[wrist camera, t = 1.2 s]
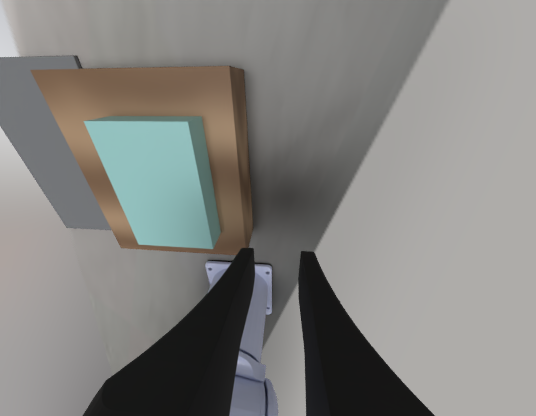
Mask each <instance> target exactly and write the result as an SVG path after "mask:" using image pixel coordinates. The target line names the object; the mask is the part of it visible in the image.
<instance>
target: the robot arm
mask: <svg viewBox="0 0 536 416" xmlns="http://www.w3.org/2000/svg"><path fill="white" fill-rule="evenodd" d="M205 266H206V270H207V274H208V279H209V283H210V288H209V290H208V293H207V294H206V296H205V297H204V298H203V299H202V300H201V301H200V302H199V303H198V304H197V305H196V306H195V307H194V308H193V309H192V310H191V311H190V312H189V313H188V314H187V315H186V316H185V317H184V318H183V319H182V320H181V321H180V322H179V323H178V324H177V325H176V326H175V327H173V328H172V329H171V330H170V331H169V332H168V333H167V334H165V335H164V336H163V337H162V338H161V339H159V340H158V341H157V342H156V343H155V344H153V345H152V346H151V347H150V348H149V349H147V350H146V351H145V352H144V353H142V354H141V355H140V356H139V357H137V358H136V359H134V360H133V361H132V362H130V363H129V364H128V365H126V366H125V367H124V368H122V369H121V370H120V371H118V372H117V373H116V374H114V375H113V376H112V377H110V378H109V379H107V380H106V381H105V383H104V384H103V386H102V387H101V389H100V390H99V391H98V393H97V394H96V395H95V397H94V398H93V400H92V402H91V403H90V405H89V406H88V408H87V410H86V411H85V413H84V415H83V416H278V403H277V396H276V393H275V390H274V388H273V385H272V383H271V381H270V380H269V379H267V378H265V369H266V365H264V364H261V354H262V344H263V335H264V326H265V317H266V314H267V315H269V314H271V313H272V267H271V266H270V265H263V264H255V263H254V248H241V249H240V251H239V252H238V254H237V255H236V257H235V258H234V260H233V261H232V262H217V261H207V262H206V264H205ZM267 271H268V272H267ZM298 281H299V304H300V312H301V313H300V314H301V321H302V331H303V340H304V352H305V380H306V416H434V414H433V413H432V412H431V411H430V410H429V409H428V408H427V407H426V406H425V405H424V404H423V403H422V402H421V401H420V400H419V399H418V398H417V397H416V396H415V395H414V394H413V393H412V392H411V391H410V390H409V388H408V387H407V386H406V385H405V384H404V383H403V382H402V381H401V380H400V378H399V377H397V375H396V374H395V373H394V372H393V371H392V370H391V369H390V367H389V366H388V365H387V364H386V363H385V361H384V360H383V359H382V358H381V357H380V355H379V354H378V353H377V352H376V351H375V349H374V348H373V347H372V346H371V345H370V343H369V342H368V341H367V340H366V338H365V337H364V336H363V334H362V333H361V332H360V330H359V329H358V328H357V326H356V325H355V324H354V322H353V321H352V319H351V318H350V317H349V315H348V314H347V312H346V311H345V309H344V308H343V306H342V305H341V304H340V301H339V300H338V298H337V297H336V295H335V293H334V292H333V290H332V288H331V286H330V284H329V283H328V281H327V279H326V277H325V275H324V273H323V271H322V269H321V267H320V265H319V262H318V260H317V258H316V255H315V253H314V252H307V251H301V258H300V268H299V278H298Z"/></svg>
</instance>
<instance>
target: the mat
mask: <svg viewBox="0 0 536 416" xmlns="http://www.w3.org/2000/svg"><path fill="white" fill-rule="evenodd" d="M47 69H82V68H81V65H80V63H79V60H78V58H77V56H40V57H0V126H1V128H2V129H3V131H4V132H5V134H6V136H7V137H8V139H9V140H10V142H11V143H12V145H13V146H14V148H15V149H16V151H17V152H18V154H19V155H20V157H21V158H22V160H23V161H24V163H25V165H26V166H27V168H28V169H29V171H30V172H31V174H32V175H33V177H34V178H35V180H36V182H37V183H38V185H39V186H40V187H41V189H42V191H43V192H44V194H45V195H46V197H47V198H48V200H49V201H50V203H51V205H52V206H53V208H54V209H55V211H56V212H57V213H58V215H59V217H60V218H61V220H62V221H63V223H64V224H65V226H66V227H67V228H80V229H99V230H112V229H111V227H110V225H109V223H108V221H107V219H106V218H105V216H104V214H103V212H102V210H101V208H100V206H99V204H98V202H97V200H96V198H95V196H94V194H93V192H92V190H91V188H90V186H89V184H88V182H87V180H86V178H85V176H84V175H83V173H82V171H81V169H80V167H79V165H78V163H77V161H76V159H75V157H74V155H73V153H72V151H71V149H70V147H69V145H68V143H67V141H66V139H65V137H64V135H63V133H62V132H61V130H60V128H59V126H58V124H57V122H56V120H55V118H54V116H53V114H52V112H51V110H50V108H49V106H48V104H47V102H46V100H45V98H44V96H43V94H42V92H41V90H40V89H39V87H38V85H37V83H36V81H35V79H34V77H33V75H32V73H31V71H30V70H47Z"/></svg>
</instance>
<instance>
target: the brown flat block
mask: <svg viewBox="0 0 536 416" xmlns="http://www.w3.org/2000/svg"><path fill="white" fill-rule="evenodd" d="M30 71H31V73H32V75H33V77H34V79H35V81H36V83H37V85H38V87H39V89H40V90H41V92H42V94H43V96H44V98H45V100H46V102H47V104H48V106H49V108H50V110H51V112H52V114H53V116H54V118H55V120H56V122H57V124H58V126H59V128H60V130H61V132H62V133H63V135H64V137H65V139H66V141H67V143H68V145H69V147H70V149H71V151H72V153H73V155H74V157H75V159H76V161H77V163H78V165H79V167H80V169H81V171H82V173H83V175H84V176H85V178H86V180H87V182H88V184H89V186H90V188H91V190H92V192H93V194H94V196H95V198H96V200H97V202H98V204H99V206H100V208H101V210H102V212H103V214H104V216H105V218H106V219H107V221H108V223H109V225H110V227H111V229H112V231H113V233H114V235H115V237H116V239H117V241H118V243H119V245H120V247H121V248H128V249H144V250H160V251H176V252H193V253H209V254H225V255H237V254H238V252H239V251H240V249H241V248H248V247H249V243H250V239H251V235H252V232H253V216H252V200H251V183H250V166H249V149H248V132H247V116H246V99H245V82H244V70H243V69H239V68H235V67H231V66H205V67H152V68H100V69H47V70H30ZM108 116H202V121H203V127H204V133H205V139H206V146H207V152H208V158H209V164H210V170H211V176H212V182H213V188H214V194H215V200H216V206H217V212H218V218H219V224H220V231H221V233H220V236H219V238H218V240H217V242H216V244H215V246H214V248H213V249H204V248H187V247H170V246H154V245H139V244H138V242H137V240H136V238H135V235H134V233H133V231H132V229H131V226H130V224H129V222H128V220H127V217H126V215H125V213H124V211H123V208H122V206H121V204H120V202H119V199H118V197H117V195H116V193H115V191H114V188H113V186H112V184H111V182H110V179H109V177H108V175H107V173H106V170H105V168H104V166H103V164H102V161H101V159H100V157H99V155H98V152H97V150H96V148H95V146H94V144H93V141H92V139H91V137H90V135H89V132H88V130H87V128H86V126H85V123H84V121H87V120H92V119H98V118H103V117H108Z"/></svg>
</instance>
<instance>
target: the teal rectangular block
mask: <svg viewBox="0 0 536 416" xmlns="http://www.w3.org/2000/svg"><path fill="white" fill-rule="evenodd" d="M84 123H85V126H86V128H87V130H88V132H89V135H90V137H91V139H92V141H93V144H94V146H95V148H96V150H97V152H98V155H99V157H100V159H101V161H102V164H103V166H104V168H105V170H106V173H107V175H108V177H109V179H110V182H111V184H112V186H113V188H114V191H115V193H116V195H117V197H118V199H119V202H120V204H121V206H122V208H123V211H124V213H125V215H126V217H127V220H128V222H129V224H130V226H131V229H132V231H133V233H134V235H135V238H136V240H137V242H138V244H139V245H154V246H170V247H187V248H204V249H213V248H214V246H215V244H216V242H217V240H218V238H219V236H220V233H221V231H220V224H219V218H218V212H217V206H216V200H215V194H214V188H213V182H212V176H211V170H210V164H209V158H208V152H207V146H206V139H205V133H204V127H203V121H202V116H108V117H103V118H98V119H92V120H87V121H84Z"/></svg>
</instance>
